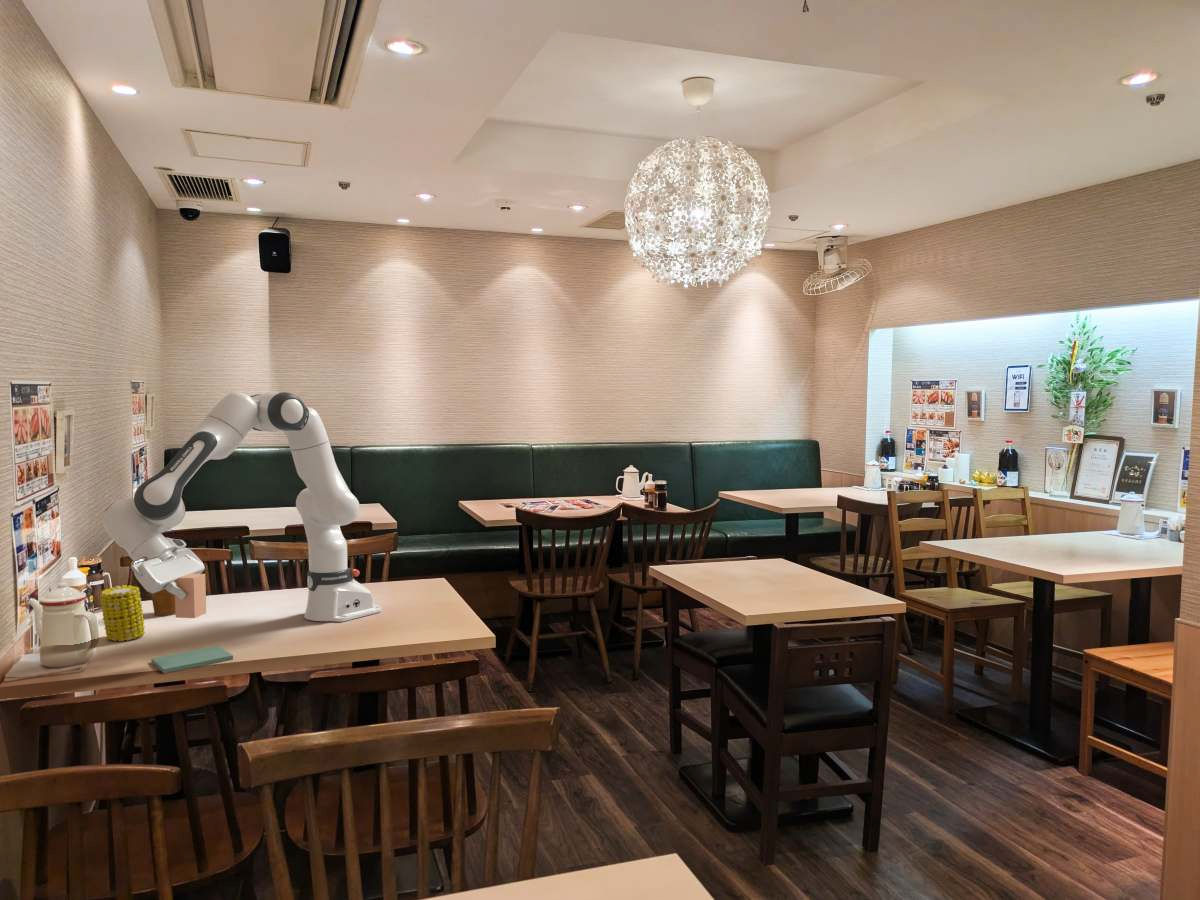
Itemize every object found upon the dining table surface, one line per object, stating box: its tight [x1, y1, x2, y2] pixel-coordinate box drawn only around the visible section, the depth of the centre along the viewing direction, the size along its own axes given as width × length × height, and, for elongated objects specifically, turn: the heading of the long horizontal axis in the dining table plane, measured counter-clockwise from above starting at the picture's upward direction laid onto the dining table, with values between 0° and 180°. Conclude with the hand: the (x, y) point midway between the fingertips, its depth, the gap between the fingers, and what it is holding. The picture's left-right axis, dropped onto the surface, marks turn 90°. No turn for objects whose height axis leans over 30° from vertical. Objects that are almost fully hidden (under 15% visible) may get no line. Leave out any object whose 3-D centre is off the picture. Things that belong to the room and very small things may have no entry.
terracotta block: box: [175, 573, 207, 619], centre depth 208 cm, size 5×5×10 cm
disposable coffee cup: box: [150, 589, 176, 617], centre depth 254 cm, size 10×10×12 cm
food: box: [99, 584, 146, 643], centre depth 228 cm, size 15×12×10 cm
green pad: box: [150, 645, 234, 674], centre depth 209 cm, size 16×11×1 cm
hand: (192, 594), depth 208 cm, fingers closed on terracotta block, 5 cm apart
